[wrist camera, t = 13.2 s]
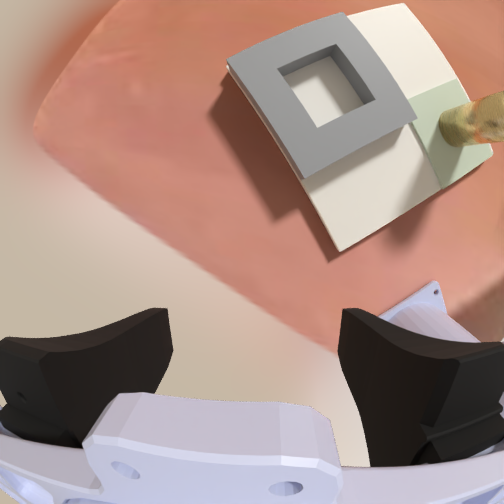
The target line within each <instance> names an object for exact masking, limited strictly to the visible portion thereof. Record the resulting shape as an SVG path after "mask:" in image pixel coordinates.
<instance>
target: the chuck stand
mask: <svg viewBox="0 0 504 504" xmlns="http://www.w3.org/2000/svg"><path fill="white" fill-rule="evenodd" d="M226 61H227V64H228V65H227V66H226V67H227V70H228V72H229V74H230V75H231V76H232V78H233V79H234V81H235V82H236V83H237V85H238V86H239V88H240V89H241V91H242V92H243V93H244V95H245V96H246V98H247V99H248V101H249V102H250V104H251V105H252V107H253V108H254V110H255V111H256V113H257V114H258V116H259V117H260V119H261V120H262V122H263V123H264V125H265V126H266V128H267V130H268V131H269V133H270V134H271V136H272V137H273V139H274V141H275V142H276V144H277V145H278V147H279V149H280V150H281V152H282V153H283V155H284V157H285V158H286V160H287V162H288V163H289V165H290V167H291V168H292V170H293V172H294V173H295V175H296V177H297V178H298V180H299V182H300V183H301V185H302V187H303V189H304V190H305V192H306V194H307V196H308V197H309V199H310V201H311V203H312V204H313V206H314V208H315V210H316V212H317V213H318V215H319V217H320V219H321V221H322V223H323V224H324V226H325V228H326V230H327V232H328V234H329V236H330V237H331V239H332V241H333V243H334V245H335V247H336V249H337V250H338V251H339V252H341V251H343V250H344V249H346V248H348V247H350V246H351V245H353V244H355V243H356V242H358V241H360V240H361V239H363V238H365V237H366V236H368V235H370V234H371V233H373V232H374V231H376V230H378V229H379V228H381V227H383V226H384V225H386V224H388V223H389V222H391V221H392V220H394V219H396V218H397V217H399V216H400V215H402V214H404V213H405V212H407V211H408V210H410V209H411V208H413V207H415V206H416V205H418V204H419V203H421V202H422V201H424V200H425V199H427V198H429V197H430V196H432V195H433V194H435V193H436V192H438V191H439V190H441V189H444V188H446V187H447V186H449V185H450V184H452V183H453V182H455V181H456V180H458V179H459V178H461V177H462V176H464V175H465V174H467V173H468V172H470V171H471V170H472V169H474V168H475V167H477V166H478V165H480V164H481V163H482V162H484V161H485V160H487V159H488V158H489V157H491V156H492V155H493V151H492V148H491V145H490V143H487V144H479V145H472V146H464V147H453V146H451V145H449V144H448V143H447V142H446V141H445V140H444V138H443V137H442V135H441V132H440V129H439V118H440V115H441V114H442V112H444V111H446V110H448V109H451V108H454V107H457V106H460V105H462V104H465V103H468V102H471V101H470V99H469V97H468V95H467V94H466V92H465V90H464V88H463V86H462V84H461V83H460V81H459V79H458V77H457V76H456V74H455V72H454V71H453V69H452V67H451V66H450V64H449V63H448V61H447V60H446V58H445V56H444V55H443V53H442V52H441V50H440V49H439V48H438V46H437V45H436V43H435V42H434V40H433V39H432V38H431V36H430V35H429V34H428V32H427V31H426V30H425V28H424V27H423V26H422V24H421V23H420V22H419V21H418V19H417V18H416V17H415V16H414V14H413V13H412V12H411V11H410V10H409V9H408V7H407V6H406V5H405V4H404V3H401V4H395V5H390V6H385V7H381V8H376V9H372V10H368V11H364V12H360V13H356V14H353V15H349V16H346V15H345V14H344V13H343V12H340V13H337V14H334V15H330V16H327V17H324V18H321V19H318V20H315V21H312V22H309V23H307V24H304V25H301V26H298V27H296V28H293V29H291V30H288V31H286V32H283V33H281V34H278V35H276V36H274V37H271V38H269V39H267V40H265V41H262V42H260V43H258V44H256V45H254V46H252V47H249V48H247V49H245V50H243V51H241V52H239V53H237V54H235V55H233V56H231V57H230V58H228V59H226Z"/></svg>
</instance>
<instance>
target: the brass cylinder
mask: <svg viewBox="0 0 504 504" xmlns="http://www.w3.org/2000/svg"><path fill="white" fill-rule="evenodd" d="M439 129H440V132H441V135H442V137H443V138H444V140H445V141H446V142H447V143H448V144H449V145H451V146H453V147H464V146H472V145H479V144H487V143H495V142H504V91H501V92H498V93H495V94H492V95H489V96H486V97H483V98H480V99H477V100H474V101H471V102H468V103H465V104H462V105H460V106H457V107H454V108H451V109H448V110H446V111H444V112H442V114H441V115H440V118H439Z"/></svg>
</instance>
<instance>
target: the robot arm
mask: <svg viewBox="0 0 504 504" xmlns="http://www.w3.org/2000/svg"><path fill="white" fill-rule="evenodd" d="M435 290H436V293H435V294H434V291H435ZM172 353H173V345H172V338H171V332H170V325H169V318H168V310H167V309H166V308H150V309H147V310H144V311H142V312H139V313H137V314H134V315H132V316H129V317H127V318H125V319H122V320H120V321H117V322H114V323H112V324H109V325H106V326H104V327H101V328H98V329H94V330H91V331H87V332H83V333H79V334H73V335H67V336H61V337H53V338H52V337H51V338H19V337H5V338H4V339H2V340H1V341H0V390H1V392H2V394H3V396H4V398H5V400H6V402H7V404H6V405H5V406H4V407H3V408H2V407H1V406H0V489H2V490H3V491H4V492H5V493H7V494H8V495H9V496H11V497H12V498H13V499H15V500H16V501H17V502H19V503H20V504H504V342H480V341H479V340H478V339H476V338H475V337H474V336H473V335H472V334H470V333H469V332H468V331H467V330H465V329H464V328H463V327H462V326H461V325H459V324H458V323H457V322H456V321H454V320H453V319H452V318H450V317H449V316H448V315H447V311H446V307H445V304H444V300H443V296H442V293H441V289H440V286H439V283H438V282H436V281H431V282H430V283H428V284H427V285H425V286H424V287H423V288H421V289H420V290H418V291H417V292H415V293H414V294H412V295H411V296H409V297H408V298H406V299H405V300H403V301H402V302H400V303H399V304H397V305H395V306H394V307H392V308H391V309H389V310H388V311H386V312H384V313H383V314H381V315H379V316H378V317H377V316H375V315H373V314H371V313H369V312H366V311H364V310H362V309H359V308H347V309H343V310H342V319H341V328H340V336H339V344H338V356H339V360H340V364H341V368H342V371H343V374H344V376H345V379H346V381H347V384H348V386H349V388H350V391H351V393H352V395H353V398H354V400H355V402H356V405H357V408H358V411H359V414H360V417H361V421H362V425H363V429H364V433H365V438H366V443H367V448H368V453H369V459H370V467H348V466H341V464H340V460H339V456H338V451H337V447H336V443H335V439H334V434H333V430H332V426H331V422H330V420H329V419H328V418H326V417H325V416H323V415H322V414H320V413H319V412H318V411H316V410H314V409H313V408H312V407H310V406H303V405H296V404H289V403H283V402H241V401H239V402H238V401H219V400H204V399H192V398H182V397H173V396H165V395H157V394H154V393H155V392H156V390H157V388H158V386H159V384H160V382H161V380H162V378H163V376H164V374H165V372H166V370H167V368H168V365H169V362H170V359H171V356H172Z"/></svg>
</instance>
